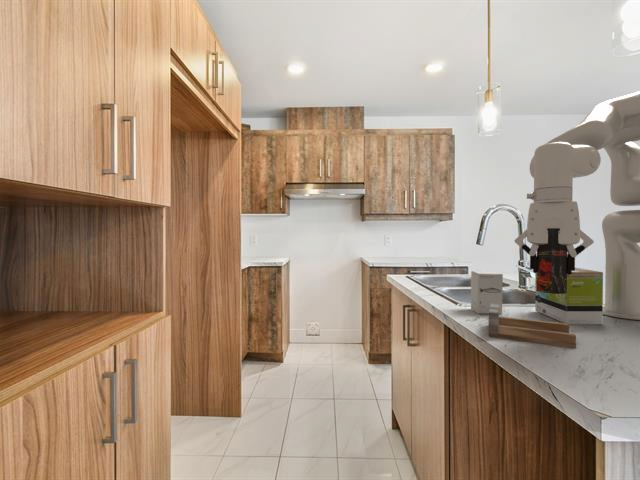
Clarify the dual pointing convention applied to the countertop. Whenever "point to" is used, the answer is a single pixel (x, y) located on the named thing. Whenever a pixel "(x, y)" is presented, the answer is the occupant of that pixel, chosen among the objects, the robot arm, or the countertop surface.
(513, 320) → the channel
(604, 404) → the countertop surface
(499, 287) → the supplement box
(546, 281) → the black package box
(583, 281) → the tea box
